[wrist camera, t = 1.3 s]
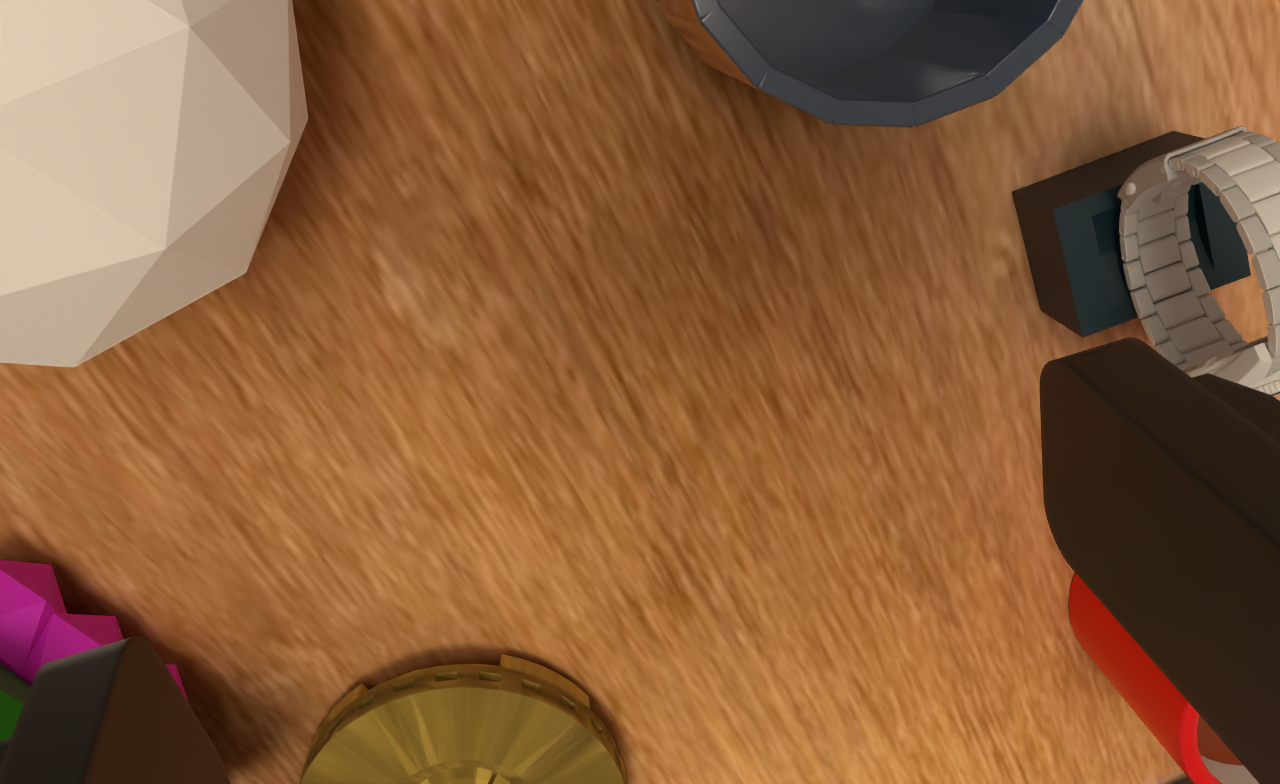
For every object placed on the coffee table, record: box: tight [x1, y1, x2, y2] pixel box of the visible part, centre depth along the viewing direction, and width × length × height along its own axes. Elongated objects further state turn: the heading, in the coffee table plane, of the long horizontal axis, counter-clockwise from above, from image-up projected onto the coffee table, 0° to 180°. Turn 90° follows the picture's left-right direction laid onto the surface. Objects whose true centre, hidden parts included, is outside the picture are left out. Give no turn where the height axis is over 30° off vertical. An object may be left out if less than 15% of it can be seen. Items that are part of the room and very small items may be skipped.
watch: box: [1012, 126, 1280, 397], centre depth 32 cm, size 6×8×11 cm
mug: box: [1069, 573, 1259, 784], centre depth 38 cm, size 8×12×8 cm, turn 29°
